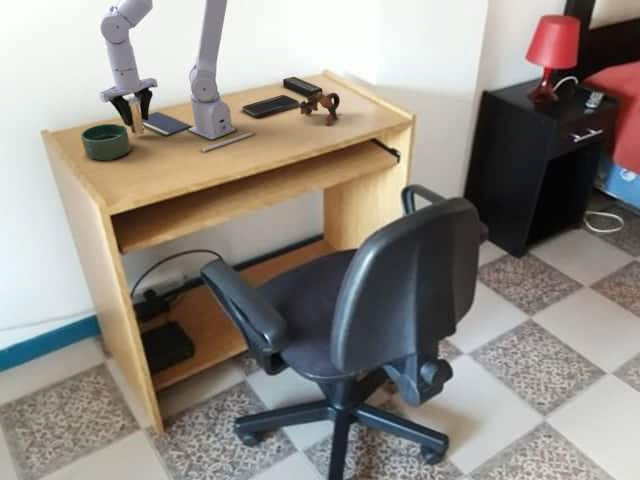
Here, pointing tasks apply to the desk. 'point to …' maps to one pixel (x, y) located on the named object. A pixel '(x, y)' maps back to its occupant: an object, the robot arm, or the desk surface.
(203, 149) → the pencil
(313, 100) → the brown looped figurine
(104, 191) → the desk surface
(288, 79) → the multiport hub
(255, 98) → the desk surface
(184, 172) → the desk surface
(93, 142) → the bowl
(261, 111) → the phone
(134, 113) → the milkshake
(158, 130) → the blue notebook
